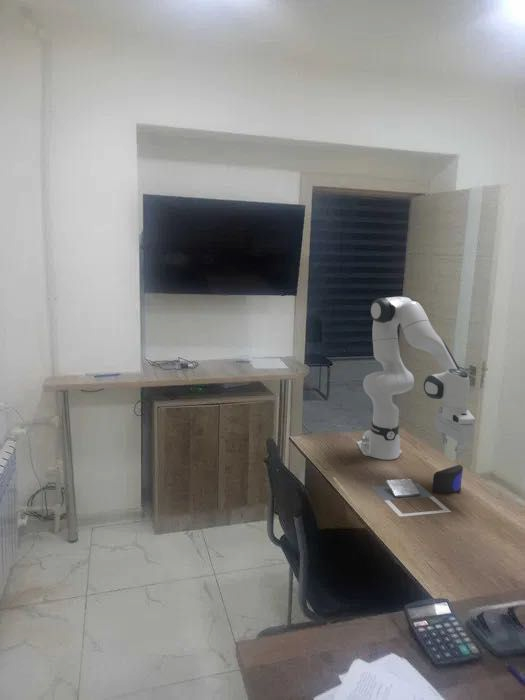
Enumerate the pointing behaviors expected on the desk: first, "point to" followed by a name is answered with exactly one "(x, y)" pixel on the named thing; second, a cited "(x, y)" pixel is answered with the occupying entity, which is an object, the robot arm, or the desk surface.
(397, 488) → the light grey rectangular plate
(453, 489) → the leaning round-cornered charcoal block
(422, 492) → the mounting board
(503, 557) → the desk surface
